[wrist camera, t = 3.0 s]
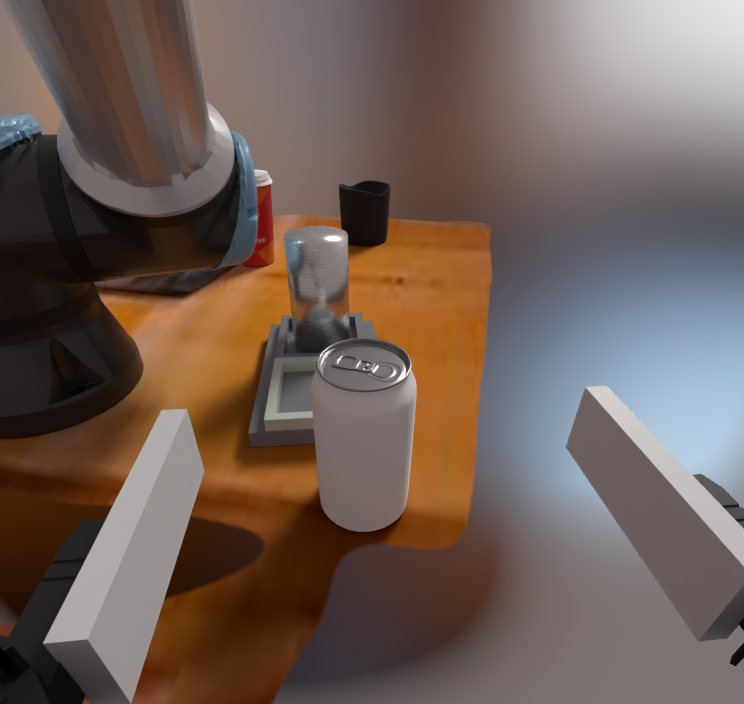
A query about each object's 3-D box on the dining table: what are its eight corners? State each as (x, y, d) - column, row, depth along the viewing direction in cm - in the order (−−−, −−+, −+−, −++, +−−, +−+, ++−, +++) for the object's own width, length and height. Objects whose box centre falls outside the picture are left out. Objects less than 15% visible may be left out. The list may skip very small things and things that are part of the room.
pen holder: (344, 231, 88) (342, 179, 82) (389, 233, 87) (391, 181, 82) (336, 246, 80) (335, 190, 74) (387, 248, 79) (389, 191, 74)
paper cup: (224, 264, 71) (208, 174, 64) (256, 250, 77) (244, 167, 69) (260, 273, 68) (247, 179, 60) (290, 258, 74) (282, 171, 66)
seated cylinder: (293, 359, 44) (281, 245, 38) (296, 331, 49) (286, 226, 43) (351, 357, 45) (349, 244, 38) (348, 329, 50) (346, 225, 43)
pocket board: (250, 447, 36) (245, 422, 34) (272, 336, 51) (270, 315, 50) (393, 438, 37) (394, 414, 35) (372, 333, 52) (372, 312, 51)
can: (389, 549, 28) (397, 407, 22) (303, 516, 30) (287, 378, 24) (418, 478, 33) (432, 346, 27) (343, 454, 35) (338, 326, 29)
